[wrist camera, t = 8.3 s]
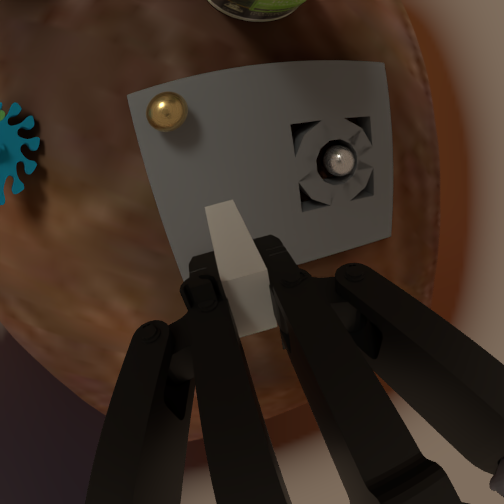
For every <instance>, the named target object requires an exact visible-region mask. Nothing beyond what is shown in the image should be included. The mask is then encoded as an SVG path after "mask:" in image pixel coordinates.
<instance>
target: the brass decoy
mask: <svg viewBox="0 0 504 504" xmlns="http://www.w3.org/2000/svg"><path fill="white" fill-rule="evenodd" d="M187 115H188V105H187V103H186V101H185V99H184V98H183V97H182V96H181V95H179V94H178V93H175V92H170V91H167V92H162V93H159V94H157V95H156V96H154V97H153V98H152V99H151V100H150V102H149V103H148V105H147V108H146V118H147V121H148V123H149V124H150V126H151V127H153V128H154V129H155V130H158V131H161V132H170V131H173V130H175V129H177V128H179V127H180V126H181V125H182V124H183V123H184V122H185V120H186V118H187Z"/></svg>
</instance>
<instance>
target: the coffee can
mask: <svg viewBox="0 0 504 504" xmlns="http://www.w3.org/2000/svg"><path fill="white" fill-rule="evenodd" d="M207 1H208V2H209V3H210V4H211V5H212V6H213V7H215V8H216V9H218V10H219V11H221V12H222V13H224V14H226V15H228V16H231V17H233V18H237V19H241V20H245V21H252V22H266V21H274V20H277V19H281V18H283V17H286V16H287V15H289V14H291V13H292V12H294V11H295V10H296V9H297V8H298V7H299V6H300V5H301V4H302V3H304V2H305V1H306V0H207Z"/></svg>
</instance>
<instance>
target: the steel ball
mask: <svg viewBox="0 0 504 504" xmlns="http://www.w3.org/2000/svg"><path fill="white" fill-rule="evenodd" d="M323 164H324V166H325V168H326V170H327V171H328V172H329V173H330V174H332V175H335V176H345V175H347V174H349V173H350V172H351V171H352V169H353V168H354V164H355V158H354V155H353V153H352V152H351V150H350V149H349V148H347V147H345V146H343V145H333V146H331V147H329V148H328V149H327V150H326V151H325V153H324V156H323Z"/></svg>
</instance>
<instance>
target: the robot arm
mask: <svg viewBox="0 0 504 504" xmlns="http://www.w3.org/2000/svg"><path fill="white" fill-rule="evenodd" d="M205 211H206V216H207V221H208V225H209V230H210V235H211V240H212V244H213V249H214V251H211V252H208V253H204V254H201V255H197V256H193V257H192V259H191V261H190V263H189V278H188V279H186V280H185V281H184V282H183V284H182V285H181V287H180V293H181V296H182V298H183V300H184V303H185V305H186V307H187V309H188V312H187V313H186V314H185V315H184V316H183V317H182V318H181V319H179V320H178V321H176V322H174V323H172V324H170V325H167V324H166V323H165V322H163V321H159V320H154V321H149V322H147V323H145V324H143V325H141V326H140V327H139V328H138V329H137V330H136V332H135V333H134V335H133V337H132V340H131V343H130V345H129V348H128V351H127V354H126V356H125V359H124V362H123V365H122V368H121V371H120V374H119V377H118V380H117V383H116V386H115V389H114V392H113V395H112V398H111V401H110V404H109V408H108V411H107V414H106V418H105V421H104V425H103V428H102V432H101V436H100V439H99V443H98V447H97V451H96V455H95V459H94V463H93V468H92V472H91V476H90V481H89V486H88V491H87V496H86V501H85V504H180V501H181V491H182V483H183V474H184V465H185V457H186V448H187V441H188V433H189V426H190V418H191V411H192V404H193V397H194V390H195V385H196V392H197V400H198V407H199V414H200V420H201V426H202V432H203V438H204V444H205V450H206V455H207V460H208V466H209V471H210V476H211V480H212V485H213V489H214V494H215V499H216V502H217V504H292V503H291V500H290V497H289V495H288V491H287V488H286V486H285V483H284V480H283V477H282V474H281V471H280V468H279V465H278V462H277V459H276V456H275V453H274V450H273V447H272V443H271V441H270V437H269V434H268V431H267V428H266V425H265V421H264V418H263V415H262V412H261V408H260V405H259V402H258V398H257V395H256V392H255V388H254V385H253V382H252V378H251V375H250V371H249V368H248V364H247V361H246V357H245V354H244V350H243V347H242V344H241V341H240V337H244V336H248V335H251V334H254V333H258V332H261V331H265V330H268V329H271V328H275V327H277V323H278V325H279V327H280V333H281V339H282V345H283V349H286V350H287V352H288V355H289V357H290V359H291V362H292V364H293V367H294V369H295V371H296V374H297V376H298V379H299V381H300V383H301V386H302V388H303V391H304V393H305V395H306V398H307V400H308V402H309V405H310V407H311V410H312V412H313V414H314V416H315V419H316V421H317V423H318V426H319V428H320V431H321V433H322V436H323V438H324V440H325V443H326V445H327V447H328V450H329V452H330V454H331V457H332V459H333V461H334V464H335V466H336V468H337V471H338V473H339V475H340V478H341V480H342V482H343V485H344V487H345V489H346V492H347V494H348V497H349V500H350V504H468V503H463V502H461V501H460V499H459V497H458V495H457V493H456V491H455V489H454V487H453V485H452V483H451V481H450V480H449V478H448V476H447V474H446V473H445V471H444V470H443V468H442V467H441V466H439V465H438V464H437V463H436V462H433V461H431V460H428V459H426V458H425V457H424V456H423V455H422V453H421V452H420V450H419V448H418V447H417V444H416V443H415V441H414V439H413V437H412V436H411V434H410V432H409V430H408V429H407V427H406V425H405V423H404V422H403V420H402V418H401V417H400V415H399V413H398V412H397V410H396V408H395V407H394V405H393V403H392V401H391V400H390V398H389V396H388V395H387V393H386V392H385V390H384V388H383V387H382V385H381V383H380V382H379V380H378V378H377V377H376V375H375V373H374V372H376V373H377V374H378V375H379V376H380V377H381V378H382V379H383V380H384V381H385V382H386V383H387V384H388V385H389V386H390V387H391V388H392V389H393V390H394V391H395V392H397V393H398V394H399V395H400V396H401V397H402V398H403V399H404V400H405V401H406V402H407V403H408V404H409V405H410V406H411V407H412V408H413V409H414V410H415V411H416V412H418V413H419V414H420V415H421V416H422V417H423V418H424V419H425V420H426V421H427V422H428V423H429V424H430V425H431V426H432V427H433V428H434V429H435V430H436V431H437V432H438V433H440V434H441V435H442V436H443V437H444V438H445V439H446V440H447V441H448V442H449V443H450V444H451V445H452V446H453V447H454V448H455V449H457V451H459V452H460V453H461V454H462V455H463V456H464V457H465V458H466V459H467V460H468V461H470V462H471V463H472V464H473V465H475V466H476V467H478V468H480V469H481V470H483V471H485V472H488V473H490V474H493V477H492V478H491V480H490V489H491V490H493V491H497V493H499V494H500V495H501V496H503V497H504V365H503V364H502V363H501V362H499V361H498V360H497V359H496V358H494V357H493V356H492V355H491V354H489V353H488V352H487V351H486V350H484V349H483V348H482V347H481V346H479V345H478V344H477V343H475V342H474V341H473V340H471V339H470V338H469V337H467V336H466V335H464V333H462V332H461V331H460V330H458V329H457V328H455V327H454V326H453V325H451V324H450V323H449V322H447V321H446V320H445V319H443V318H442V317H441V316H439V315H438V314H436V313H435V312H434V311H432V310H431V309H429V308H428V307H427V306H425V305H424V304H422V303H421V302H420V301H418V300H417V299H415V298H414V297H412V296H411V295H410V294H408V293H407V292H405V291H404V290H402V289H401V288H399V287H398V286H396V285H395V284H393V283H392V282H390V281H389V280H387V279H386V278H385V277H383V276H382V275H380V274H378V273H377V272H375V271H374V270H372V269H371V268H369V267H368V266H365V265H363V264H359V263H348V264H345V265H343V266H341V267H340V268H338V269H337V271H336V273H335V277H327V278H315V277H312V276H311V275H310V274H309V273H308V272H307V271H305V270H302V269H299V268H298V266H297V265H296V263H295V261H294V260H293V258H292V257H291V255H290V254H289V252H288V251H287V249H286V248H285V246H284V245H283V243H282V242H281V240H280V239H279V238H277V237H275V236H273V235H271V234H270V235H267V236H263V237H259V238H256V239H252V237H251V235H250V233H249V231H248V229H247V227H246V225H245V223H244V221H243V219H242V217H241V215H240V213H239V211H238V209H237V207H236V205H235V203H234V201H233V200H229V201H225V202H222V203H218V204H214V205H210V206H207V207H205ZM276 320H277V322H276ZM373 371H374V372H373Z"/></svg>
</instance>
